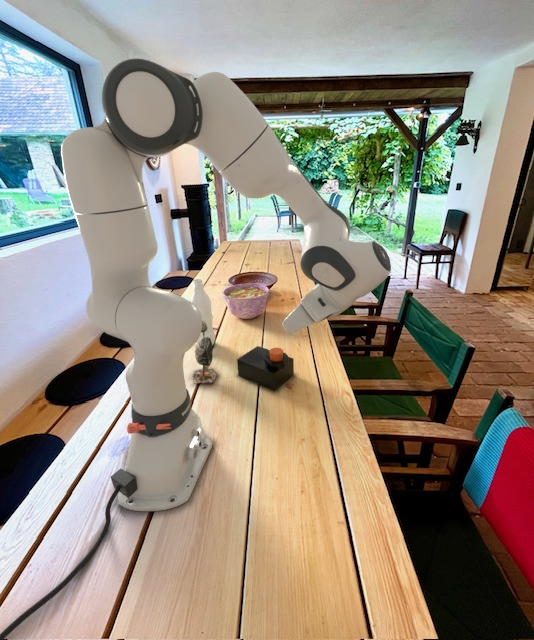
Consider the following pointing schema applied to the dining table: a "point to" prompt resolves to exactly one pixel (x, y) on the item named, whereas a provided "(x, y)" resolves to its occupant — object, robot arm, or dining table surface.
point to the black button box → (265, 368)
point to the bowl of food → (246, 300)
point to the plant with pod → (204, 359)
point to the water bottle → (203, 309)
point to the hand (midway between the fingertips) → (295, 325)
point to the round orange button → (276, 354)
